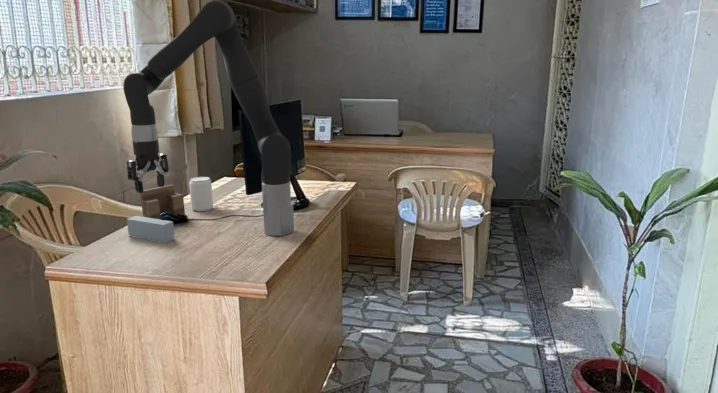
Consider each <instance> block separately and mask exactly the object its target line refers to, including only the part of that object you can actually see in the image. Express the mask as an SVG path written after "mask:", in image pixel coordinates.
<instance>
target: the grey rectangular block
mask: <svg viewBox="0 0 718 393" xmlns="http://www.w3.org/2000/svg"><path fill="white" fill-rule="evenodd" d="M126 224H127V232H128V236H129V235H130V236H135V237H134V238H136V237H139V238H138V239H141V238H143V239H142V240H147V239H148V241H152V240H153V241H152V242H158V243H164V244H166V243H169V242H171V241H173V240H175V237H176V236H175V229H174V221H173V220H167V219H166V220H160V219H154V218H148V217H143V216H140V215H135V216H134V215H133V216H132V217H128V218H127V219H126ZM130 236H129V237H130Z"/></svg>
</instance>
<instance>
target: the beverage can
mask: <svg viewBox="0 0 718 393" xmlns="http://www.w3.org/2000/svg"><path fill="white" fill-rule="evenodd" d="M188 183H189V184H188V186H189V195H190V196H189V197H190V205H191V207H190V208H191V210H192V211H196V212H206V211H209V210H211V209H213V208H214V199H213V198H214V197H213V188H212V187H213V186H212V180H211V178H210V177H208V176H196V177H191V178H190V179H189V182H188Z"/></svg>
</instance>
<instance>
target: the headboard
mask: <svg viewBox="0 0 718 393" xmlns="http://www.w3.org/2000/svg"><path fill="white" fill-rule="evenodd" d="M139 194H140V201H141V210H142V217H148V218H154V219H160V220H161V216H160V214H161V213H163V212H166V211H169V212H171V213H173V214H174V215H177V214H180V215H184V216H185V217H186V212H185V211H186V210H185V209H186V208H185V202H184V200H185V199H184V194H183V193H182V194H181V193H178V192H175V185H174V184H167V185H164V187H158V186H157V187H153V188H147V189H143V193H139Z"/></svg>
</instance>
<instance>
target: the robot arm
mask: <svg viewBox="0 0 718 393" xmlns="http://www.w3.org/2000/svg"><path fill="white" fill-rule="evenodd" d="M213 38H214V39H215V41H216V42H217V44H218V47H219V49H220V52H221V54H222V58H223V62H224V67H225V70H226V74H227V78H228V81H229V84H230V86H231V89H232V91H233V93H234V96H235V98H236V99H237V101H238V104H239V106H240V108H242V111H243V112H244V114H245V116H246V118H247V119H248V122H249V124H250V125H251V128H252V131H253V134H254V136H255V140H256V143H257V144H256V145H257V147H258V151H259V153H260V154H261V167H262V169H261V175H260V176H261V179H260V180H261V192H262V193H261V194H262V214H263V228H264V231H263V232H264V234H265V235H267V236H272V237H284V236H287V235H290V234H292V233H294V232H295V221H294V220H295V218H294V205H293V204H292V196H291V195H292V194H291V174H292V156H291V155H292V152H291V144H290V142H289V140H288V139H287V138H286V137H285V136H284V135H283V134H282V133H281V131H280V130H279V127H278V126H277V123H276V121H275V120H274V118H273V115H272V113H271V109H270V104H269V99H268V95H267V91H266V89H265V86H264V82H263V81H262V78H261V76H260V73H259V72H258V69H257V67H256V64H255V63H254V61H253V59H252V57H251V55H250V52H249V50H248V49H247V48H246V46H245V43H244V40H243V37H242V35H241V32H240V29H239V25H238V22H237V18H236V15H235V12H234V9H233V8H232V7H231V6H230V5H229V4H228V3H226V2H224V1H222V0H211V1H210V0H209V1H207V2H206V3H205V4H204V5H203V6H202V8H201V9H200V10H199V12H198V13H197V14H196V15H195V17H194V18H193V19H192V21H191V22H190V23H189V24H187V26H186V27H185V28H184V29H183V30H182V31H181V32H180V33H179V34H178V35H177V36H175V37H174V38H173V39H172V40H170V41H169V42H167V43H166V44H165V45H164V46H163V47H161V49H159V50H158V51H157V52H156V53H155V54H154V55H152V56H151V57H150V59H148V61H147V64H146V66H144V67H143V68H142V69H141V70H140V71H139V72H133V73H129V74H128V75H126V76H125V78H124V80H123V84H122V85H123V94H124V98H125V100H126V104H127V106H128V109H129V116H130V125H131V132H130V133H131V140H132V142H131V143H132V151H133V154H134V156H135V160H127V161H126V167H127V168H126V169H127V179H128V180H130V181H133V182H134V188H135V192H136V193H138V194H140V193H143V190H144V186H143V178H144V176H145V175H146V174H147V173H148V172H150V171H153V172H155V174H156V185H157V187H164V186H165V175H166V173H169V171H170V170H169V163H168V155H167V154H166V153H165V154H164V153H160V143H159V135H158V133H159V132H158V128H157V124H156V123H157V121H156V114H155V112H156V111H155V108H154V107H153V105H151V104H150V99H149V95H151V94H152V93H154V91H156V90H157V89H158V88H159V87H160V86H161V85H162V83H163V82H164V81H165V80H166V78H168V77H169V76H171V75H172V74H173V73H175V71H176V70H178V69H179V68H180V67H181V66H182V65H183V64H184V63H185V62H186V61H187V60H188V59H189V58H190V57H191V56H192V55H193V54H194V53H195V51H197V50H198V49H199V48H200V47H201V46H202V45H203V44H205V43H207V41H210V40H211V39H213Z"/></svg>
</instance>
